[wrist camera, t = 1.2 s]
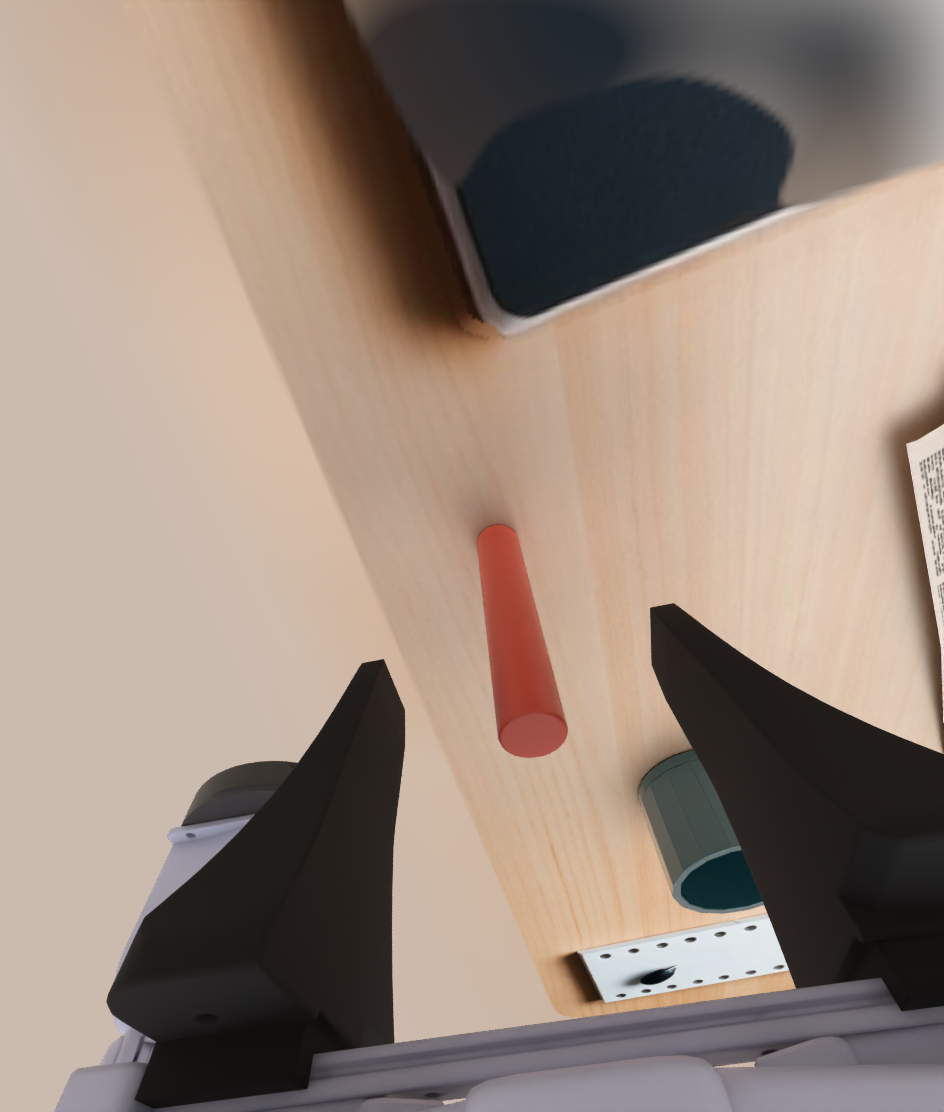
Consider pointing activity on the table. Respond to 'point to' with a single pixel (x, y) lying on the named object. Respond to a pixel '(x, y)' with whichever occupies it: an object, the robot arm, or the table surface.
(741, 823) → the robot arm
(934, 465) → the newspaper
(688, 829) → the cup
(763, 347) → the table surface
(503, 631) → the red wooden dowel
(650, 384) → the table surface
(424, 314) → the table surface
